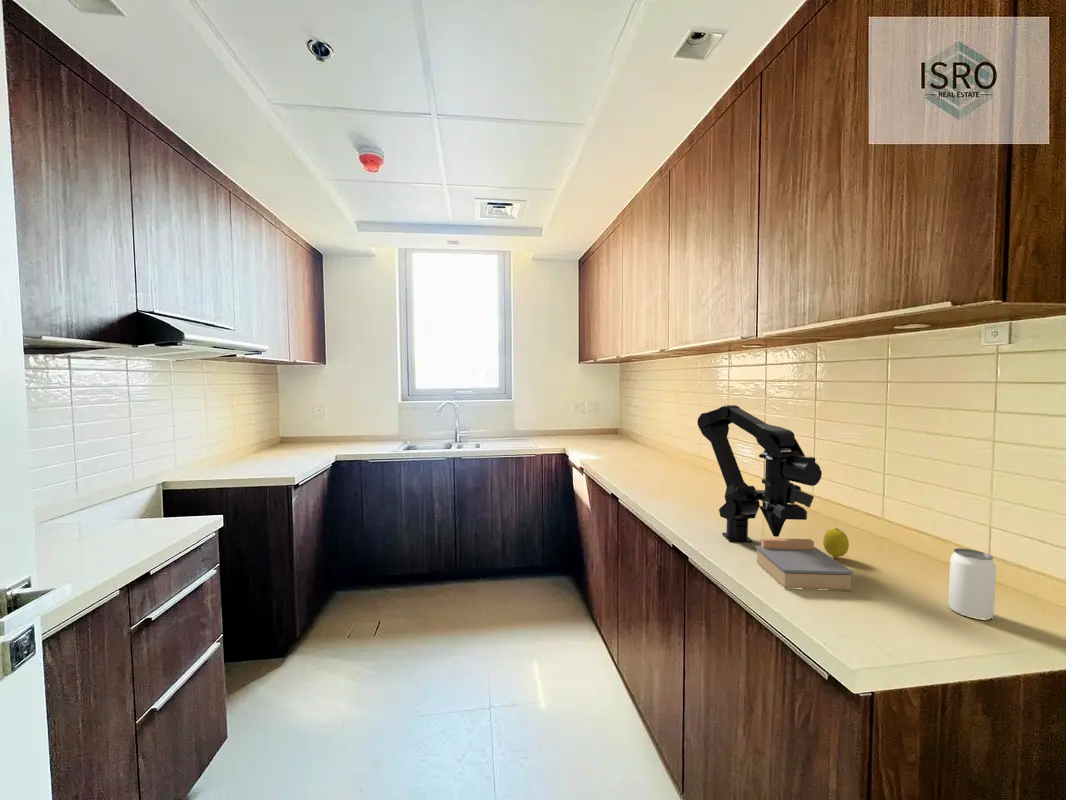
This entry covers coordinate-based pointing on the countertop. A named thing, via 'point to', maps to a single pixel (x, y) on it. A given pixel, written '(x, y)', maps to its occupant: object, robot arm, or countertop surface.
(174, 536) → the countertop surface
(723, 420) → the robot arm
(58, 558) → the countertop surface
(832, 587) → the box
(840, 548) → the lemon
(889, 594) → the countertop surface
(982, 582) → the can
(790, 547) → the lid
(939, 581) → the countertop surface
